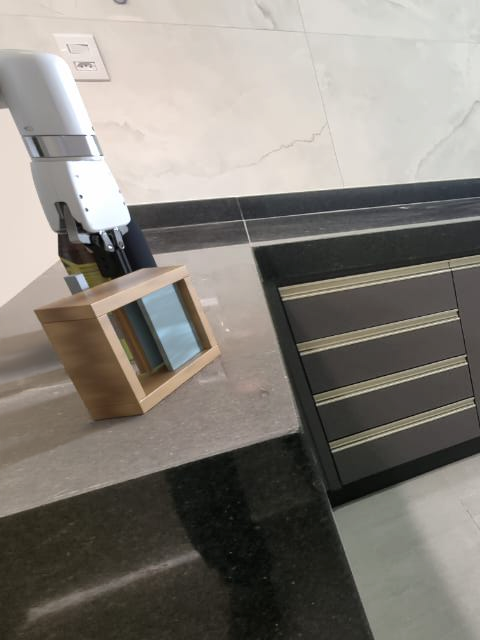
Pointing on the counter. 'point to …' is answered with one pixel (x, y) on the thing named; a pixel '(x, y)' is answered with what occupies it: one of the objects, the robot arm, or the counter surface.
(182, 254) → the counter surface
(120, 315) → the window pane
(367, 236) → the counter surface
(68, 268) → the sauce bottle
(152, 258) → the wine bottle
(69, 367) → the window frame
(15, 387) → the counter surface
